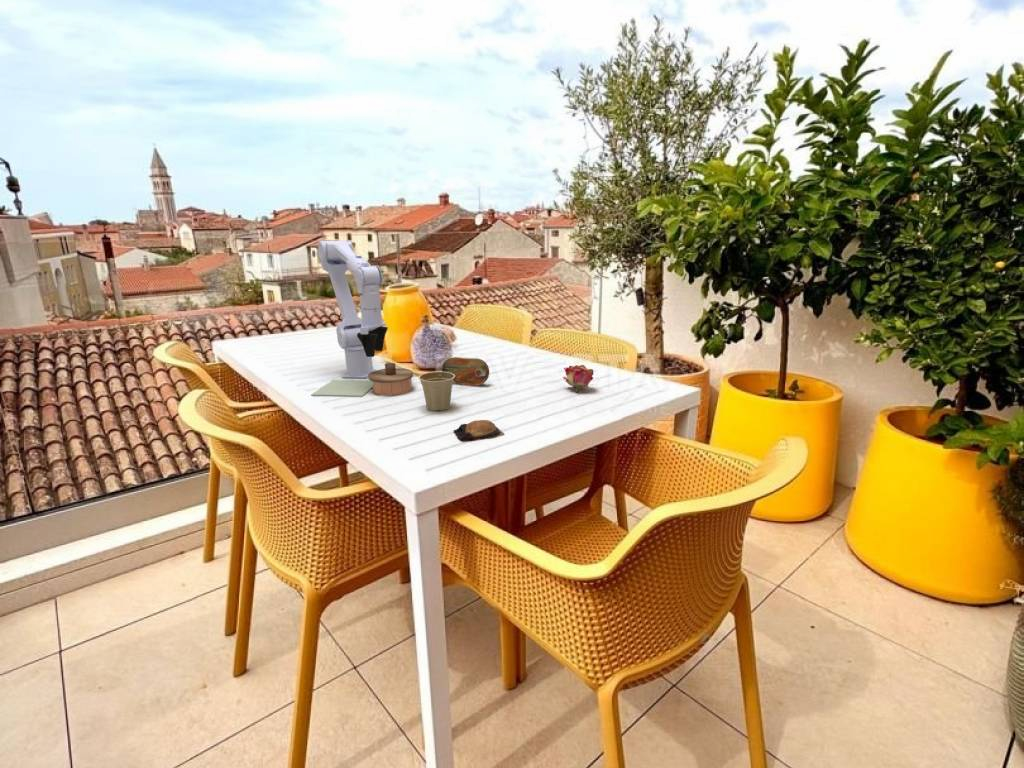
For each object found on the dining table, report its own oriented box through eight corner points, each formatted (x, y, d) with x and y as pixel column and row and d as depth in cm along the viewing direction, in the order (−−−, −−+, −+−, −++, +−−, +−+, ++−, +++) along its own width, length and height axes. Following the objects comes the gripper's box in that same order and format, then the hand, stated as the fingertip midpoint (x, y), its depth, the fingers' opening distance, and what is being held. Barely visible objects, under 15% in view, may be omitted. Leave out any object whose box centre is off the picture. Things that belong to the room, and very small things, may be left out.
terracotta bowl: (380, 383, 153) (379, 371, 152) (415, 384, 152) (414, 371, 151) (368, 394, 142) (367, 381, 141) (405, 395, 142) (404, 381, 140)
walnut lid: (376, 370, 153) (375, 358, 152) (417, 370, 152) (417, 358, 151) (361, 382, 140) (360, 369, 139) (407, 382, 140) (406, 369, 138)
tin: (441, 383, 153) (440, 356, 151) (446, 380, 156) (445, 354, 154) (487, 387, 149) (486, 360, 146) (490, 384, 152) (490, 358, 149)
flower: (596, 390, 139) (598, 365, 142) (564, 384, 139) (567, 358, 141) (586, 400, 149) (589, 375, 151) (557, 394, 148) (560, 369, 150)
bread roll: (492, 426, 120) (492, 412, 119) (506, 438, 113) (506, 423, 112) (450, 432, 116) (450, 418, 115) (462, 445, 109) (461, 430, 108)
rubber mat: (333, 381, 156) (332, 379, 156) (379, 381, 155) (379, 380, 155) (311, 395, 142) (311, 394, 141) (362, 396, 141) (362, 395, 140)
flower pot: (449, 414, 126) (448, 382, 124) (415, 412, 128) (413, 380, 126) (460, 402, 135) (459, 372, 133) (428, 400, 137) (426, 370, 135)
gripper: (376, 312, 138) (380, 359, 141) (391, 305, 151) (394, 348, 155) (351, 311, 138) (355, 359, 142) (369, 305, 152) (372, 348, 156)
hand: (374, 353), depth 149 cm, fingers open, 7 cm apart
